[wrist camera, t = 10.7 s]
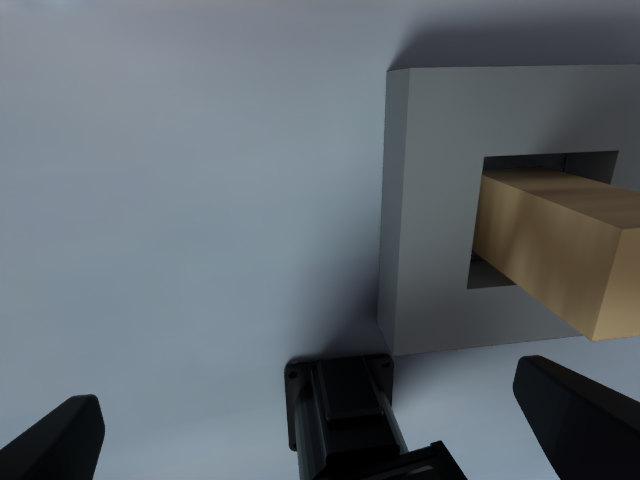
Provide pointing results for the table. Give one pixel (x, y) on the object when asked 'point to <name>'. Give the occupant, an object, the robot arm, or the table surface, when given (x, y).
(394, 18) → the table surface
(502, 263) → the peg
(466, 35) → the table surface
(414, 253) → the socket block
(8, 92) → the table surface
